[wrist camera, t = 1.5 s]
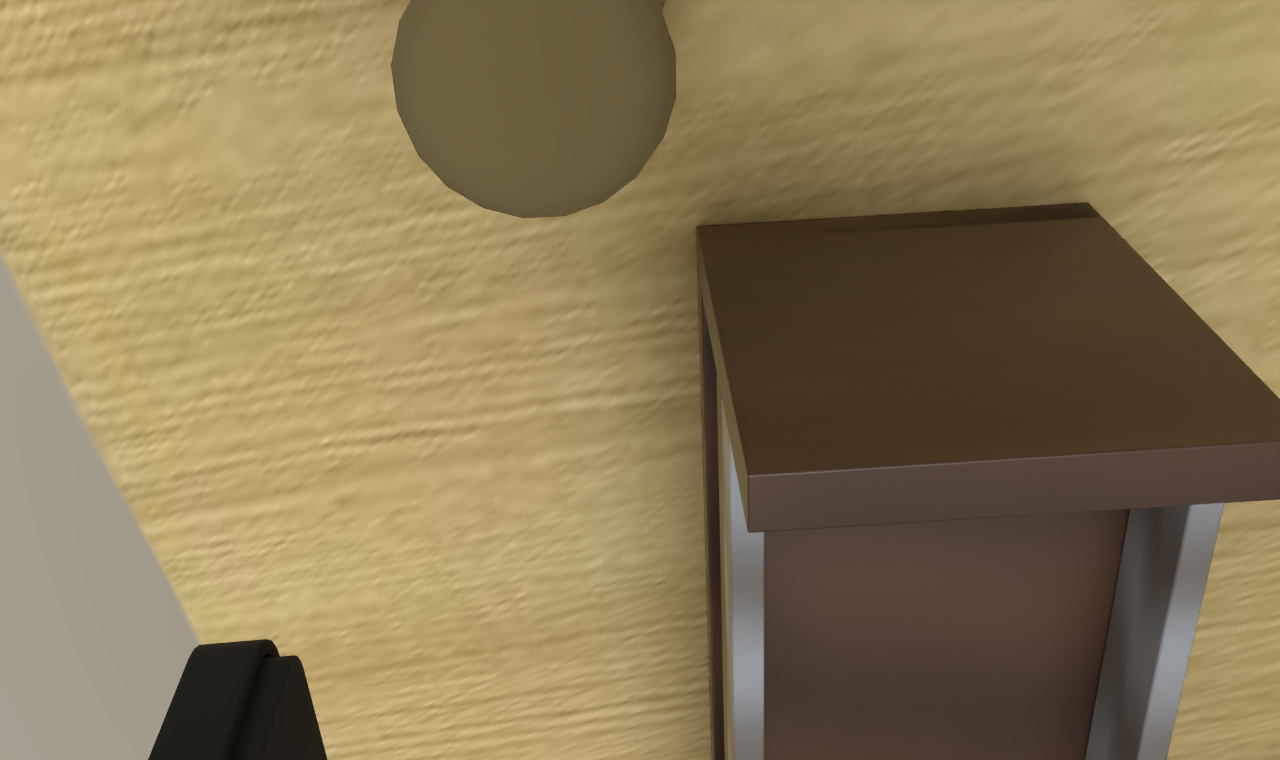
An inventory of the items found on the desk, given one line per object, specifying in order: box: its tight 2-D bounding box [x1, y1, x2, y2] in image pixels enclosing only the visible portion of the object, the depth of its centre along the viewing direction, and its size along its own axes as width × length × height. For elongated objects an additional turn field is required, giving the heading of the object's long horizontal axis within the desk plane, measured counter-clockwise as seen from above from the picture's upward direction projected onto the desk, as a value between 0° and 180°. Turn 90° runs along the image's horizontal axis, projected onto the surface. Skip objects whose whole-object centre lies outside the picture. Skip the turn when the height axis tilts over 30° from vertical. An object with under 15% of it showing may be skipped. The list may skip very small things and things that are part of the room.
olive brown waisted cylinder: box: [391, 0, 676, 218], centre depth 26 cm, size 6×6×11 cm
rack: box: [696, 203, 1280, 760], centre depth 34 cm, size 22×11×12 cm, turn 3°
